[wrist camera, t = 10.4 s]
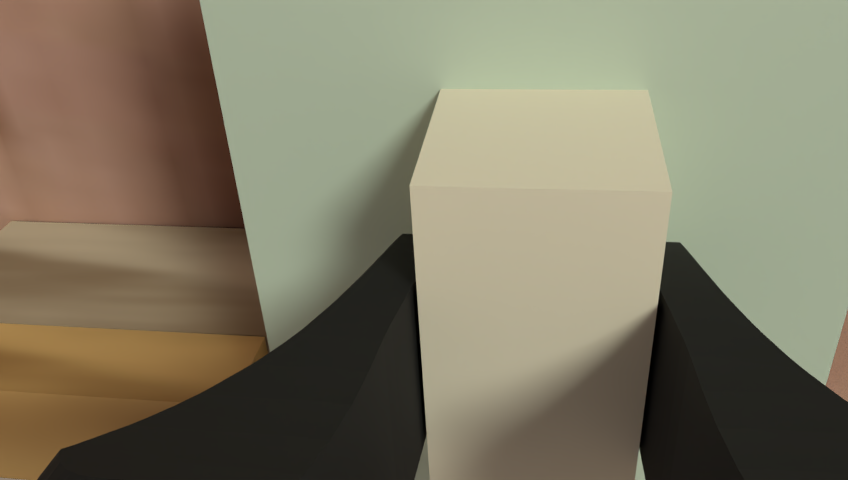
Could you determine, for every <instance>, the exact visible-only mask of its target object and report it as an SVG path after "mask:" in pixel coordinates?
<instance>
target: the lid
mask: <svg viewBox="0 0 848 480" xmlns="http://www.w3.org/2000/svg"><path fill="white" fill-rule="evenodd" d="M200 5H201V10H202V15H203V20H204V25H205V30H206V35H207V40H208V45H209V50H210V55H211V60H212V65H213V70H214V75H215V80H216V85H217V90H218V95H219V100H220V105H221V110H222V115H223V120H224V125H225V130H226V135H227V140H228V145H229V150H230V155H231V160H232V165H233V170H234V175H235V180H236V185H237V190H238V195H239V200H240V205H241V210H242V215H243V220H244V225H245V230H246V235H247V240H248V245H249V250H250V255H251V260H252V265H253V270H254V275H255V280H256V285H257V290H258V295H259V300H260V305H261V310H262V315H263V320H264V325H265V330H266V335H267V340H268V345H269V350H270V352H271V351H273V350H274V349H275V348H277V347H278V346H280V345H281V344H283V343H284V342H286V341H287V340H288V339H290V338H291V337H292V336H294V335H295V334H296V333H298V332H299V331H300V330H302V329H303V328H304V327H305V326H307V325H308V324H309V323H310V322H311V321H312V320H314V319H315V318H316V317H317V316H318V315H319V314H321V313H322V312H323V311H324V310H325V309H326V308H328V307H329V306H330V305H331V304H332V303H333V302H334V301H336V300H337V299H338V298H339V297H340V296H341V295H342V294H343V293H344V292H345V291H346V290H347V289H348V288H349V287H350V286H351V285H352V284H353V283H354V282H355V281H356V280H357V279H358V278H359V277H360V276H361V275H362V274H363V273H364V272H365V271H366V270H367V269H368V268H369V267H370V266H371V265H372V264H373V263H374V262H375V261H376V260H377V259H378V258H379V257H380V256H381V255H382V254H383V253H384V252H385V250H386V249H387V248H388V247H389V246H390V245H391V244H392V243H393V242H394V241H395V240H396V239H397V238H398V237H399V236H401V235H402V234H413V244H414V259H415V273H416V288H417V302H418V316H419V331H420V345H421V360H422V374H423V389H424V403H425V417H426V432H427V435H426V439H425V442H424V446H423V450H422V454H421V457H420V461H419V465H418V468H417V472H416V476H415V480H645V475H644V470H643V465H642V459H641V454H640V449H639V445H640V437H641V429H642V422H643V414H644V406H645V399H646V391H647V383H648V376H649V368H650V360H651V353H652V345H653V337H654V330H655V322H656V314H657V307H658V299H659V291H660V284H661V276H662V268H663V261H664V253H665V246H666V242H680V243H681V244H682V245H683V246H684V247H685V248H686V249H687V250H688V252H689V253H690V254H691V255H692V256H693V257H694V259H695V260H696V261H697V262H698V263H699V265H700V266H701V267H702V268H703V269H704V271H705V272H706V273H707V274H708V275H709V277H710V278H711V279H712V280H713V281H714V282H715V283H716V285H717V286H718V287H719V288H720V289H721V290H722V291H723V293H724V294H725V295H726V296H727V297H728V298H729V299H730V300H731V301H732V302H733V303H734V305H735V306H736V307H737V308H738V309H739V310H740V311H741V312H742V313H743V314H744V315H745V316H746V317H747V318H748V319H749V320H750V321H751V322H752V323H753V324H754V325H755V326H756V327H757V328H758V329H759V330H760V331H761V332H762V333H763V334H764V335H765V336H766V337H767V338H769V339H770V340H771V341H772V342H773V343H774V344H775V345H776V346H777V347H778V348H780V349H781V350H782V351H783V352H784V353H785V354H786V355H787V356H788V357H790V358H791V359H792V360H793V361H794V362H796V363H797V364H798V365H799V366H800V367H802V368H803V369H804V370H805V371H807V372H808V373H809V374H811V375H812V376H813V377H815V378H816V379H817V380H819V381H820V382H821V383H822V384H824V385H825V386H826V382H827V379H828V375H829V372H830V368H831V365H832V362H833V358H834V355H835V351H836V348H837V344H838V341H839V337H840V334H841V330H842V327H843V324H844V320H845V317H846V313H847V310H848V0H200Z"/></svg>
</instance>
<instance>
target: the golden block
mask: <svg viewBox="0 0 848 480" xmlns="http://www.w3.org/2000/svg"><path fill="white" fill-rule="evenodd" d="M267 354H268V351H267V346H266V341H265V337H257V336H238V335H219V334H199V333H180V332H160V331H141V330H122V329H102V328H83V327H63V326H44V325H24V324H5V323H0V477H2V478H13V479H26V480H37V479H38V478H39V476H40V475H41V474H42V472H43V471H44V470H45V468H46V467H47V466H48V465H49V463H50V462H51V461H52V459H53V458H54V457H55V456H56V454H57V453H58V452H59V451H60V449H63V448H66V447H69V446H72V445H75V444H78V443H81V442H83V441H86V440H89V439H92V438H95V437H97V436H100V435H103V434H106V433H108V432H111V431H114V430H117V429H119V428H122V427H125V426H128V425H130V424H133V423H135V422H138V421H140V420H143V419H145V418H148V417H150V416H152V415H154V414H157V413H159V412H161V411H163V410H166V409H168V408H170V407H172V406H175V405H177V404H179V403H181V402H183V401H185V400H187V399H189V398H191V397H193V396H195V395H198V394H200V393H201V392H203V391H205V390H207V389H209V388H211V387H213V386H214V385H216V384H218V383H220V382H221V381H223V380H225V379H227V378H228V377H230V376H232V375H234V374H235V373H237V372H239V371H241V370H242V369H244V368H246V367H248V366H249V365H251V364H253V363H254V362H256V361H258V360H259V359H261V358H262V357H264V356H265V355H267Z"/></svg>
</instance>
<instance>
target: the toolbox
mask: <svg viewBox="0 0 848 480" xmlns="http://www.w3.org/2000/svg"><path fill="white" fill-rule="evenodd" d="M0 323H5V324H24V325H44V326H63V327H83V328H102V329H122V330H141V331H160V332H180V333H199V334H219V335H238V336H257V337H265V341H266V346H267V351H268V353H270V350H269V345H268V340H267V335H266V330H265V325H264V320H263V315H262V310H261V305H260V300H259V295H258V290H257V285H256V280H255V275H254V270H253V265H252V260H251V255H250V250H249V245H248V240H247V235H246V230H245V229H244V228H212V227H180V226H148V225H116V224H83V223H51V222H19V221H11V222H10V223H9V224H8V225H6V226H5V227H4V228H3V229H2V230H1V231H0Z"/></svg>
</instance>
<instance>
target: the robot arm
mask: <svg viewBox="0 0 848 480" xmlns="http://www.w3.org/2000/svg"><path fill="white" fill-rule="evenodd" d="M426 435H427V432H426V417H425V403H424V389H423V374H422V360H421V345H420V331H419V316H418V302H417V288H416V273H415V259H414V244H413V234H402V235H401V236H399V237H398V238H397V239H396V240H395V241H394V242H393V243H392V244H391V245H390V246H389V247H388V248H387V249H386V250H385V252H384V253H383V254H382V255H381V256H380V257H379V258H378V259H377V260H376V261H375V262H374V263H373V264H372V265H371V266H370V267H369V268H368V269H367V270H366V271H365V272H364V273H363V274H362V275H361V276H360V277H359V278H358V279H357V280H356V281H355V282H354V283H353V284H352V285H351V286H350V287H349V288H348V289H347V290H346V291H345V292H344V293H343V294H342V295H341V296H340V297H339V298H338V299H337V300H336V301H334V302H333V303H332V304H331V305H330V306H329V307H328V308H326V309H325V310H324V311H323V312H322V313H321V314H319V315H318V316H317V317H316V318H315V319H314V320H312V321H311V322H310V323H309V324H308V325H307V326H305V327H304V328H303V329H302V330H300V331H299V332H298V333H296V334H295V335H294V336H292V337H291V338H290V339H288V340H287V341H286V342H284V343H283V344H281V345H280V346H278V347H277V348H275V349H274V350H273V351H271V352H270V353H268V354H267V355H265V356H264V357H262V358H261V359H259V360H258V361H256V362H254V363H253V364H251V365H249V366H248V367H246V368H244V369H242V370H241V371H239V372H237V373H235V374H234V375H232V376H230V377H228V378H227V379H225V380H223V381H221V382H220V383H218V384H216V385H214V386H213V387H211V388H209V389H207V390H205V391H203V392H201V393H200V394H198V395H195V396H193V397H191V398H189V399H187V400H185V401H183V402H181V403H179V404H177V405H175V406H172V407H170V408H168V409H166V410H163V411H161V412H159V413H157V414H154V415H152V416H150V417H148V418H145V419H143V420H140V421H138V422H135V423H133V424H130V425H128V426H125V427H122V428H119V429H117V430H114V431H111V432H108V433H106V434H103V435H100V436H97V437H95V438H92V439H89V440H86V441H83V442H81V443H78V444H75V445H72V446H69V447H66V448H63V449H60V451H59V452H58V453H57V454H56V456H55V457H54V458H53V459H52V461H51V462H50V463H49V465H48V466H47V467H46V468H45V470H44V471H43V472H42V474H41V475H40V476H39V478H38V479H37V480H415V476H416V472H417V468H418V465H419V461H420V457H421V454H422V450H423V446H424V442H425V439H426ZM639 449H640V454H641V459H642V465H643V470H644V475H645V480H848V402H847V401H846V400H844V399H843V398H841V397H840V396H838V395H837V394H836V393H834V392H833V391H832V390H830V389H829V388H828V387H826V386H825V385H824V384H822V383H821V382H820V381H819V380H817V379H816V378H815V377H813V376H812V375H811V374H809V373H808V372H807V371H805V370H804V369H803V368H802V367H800V366H799V365H798V364H797V363H796V362H794V361H793V360H792V359H791V358H790V357H788V356H787V355H786V354H785V353H784V352H783V351H782V350H781V349H780V348H778V347H777V346H776V345H775V344H774V343H773V342H772V341H771V340H770V339H769V338H767V337H766V336H765V335H764V334H763V333H762V332H761V331H760V330H759V329H758V328H757V327H756V326H755V325H754V324H753V323H752V322H751V321H750V320H749V319H748V318H747V317H746V316H745V315H744V314H743V313H742V312H741V311H740V310H739V309H738V308H737V307H736V306H735V305H734V303H733V302H732V301H731V300H730V299H729V298H728V297H727V296H726V295H725V294H724V293H723V291H722V290H721V289H720V288H719V287H718V286H717V285H716V283H715V282H714V281H713V280H712V279H711V278H710V277H709V275H708V274H707V273H706V272H705V271H704V269H703V268H702V267H701V266H700V265H699V263H698V262H697V261H696V260H695V259H694V257H693V256H692V255H691V254H690V253H689V252H688V250H687V249H686V248H685V247H684V246H683V245H682V244H681V243H680V242H666V246H665V253H664V261H663V268H662V276H661V284H660V291H659V299H658V307H657V314H656V322H655V330H654V337H653V345H652V353H651V360H650V368H649V376H648V383H647V391H646V399H645V406H644V414H643V422H642V429H641V437H640V445H639Z"/></svg>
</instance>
